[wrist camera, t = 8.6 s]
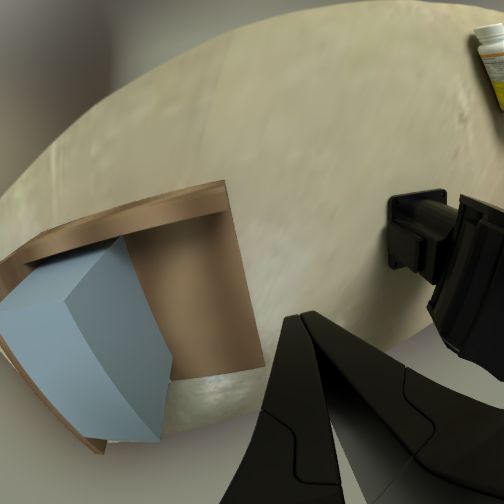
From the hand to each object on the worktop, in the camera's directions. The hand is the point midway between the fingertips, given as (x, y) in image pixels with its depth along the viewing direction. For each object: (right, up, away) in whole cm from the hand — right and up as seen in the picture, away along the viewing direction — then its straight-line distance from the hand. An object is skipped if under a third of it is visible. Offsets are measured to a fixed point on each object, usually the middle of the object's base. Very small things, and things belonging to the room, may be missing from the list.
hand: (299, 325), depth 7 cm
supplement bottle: (+27, +16, +7) cm, 32 cm away
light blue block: (-13, -3, +13) cm, 19 cm away
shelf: (-10, -2, +14) cm, 17 cm away
